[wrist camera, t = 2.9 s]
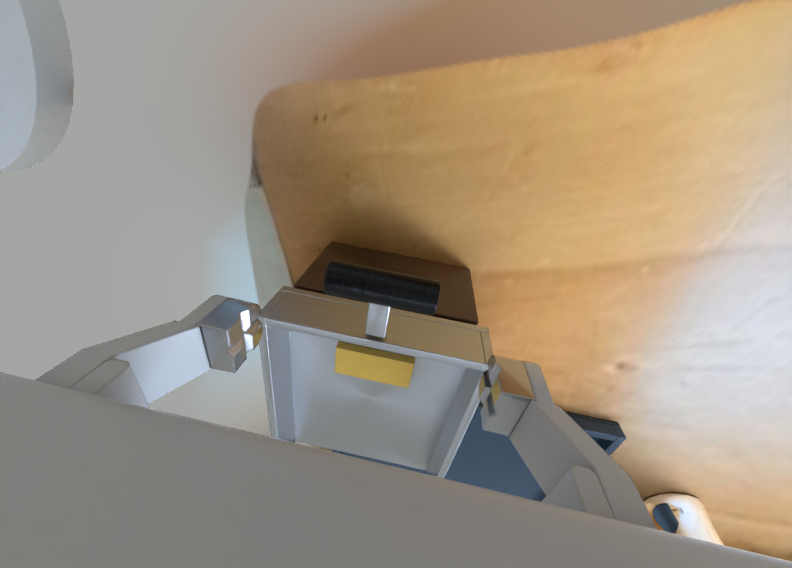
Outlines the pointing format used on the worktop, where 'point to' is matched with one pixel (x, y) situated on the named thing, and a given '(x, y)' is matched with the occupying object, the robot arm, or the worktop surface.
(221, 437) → the robot arm
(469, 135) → the worktop surface
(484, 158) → the worktop surface
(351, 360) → the yellow block
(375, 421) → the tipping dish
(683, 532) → the silver metal vase
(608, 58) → the worktop surface
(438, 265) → the stand
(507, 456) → the tray
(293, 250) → the worktop surface
